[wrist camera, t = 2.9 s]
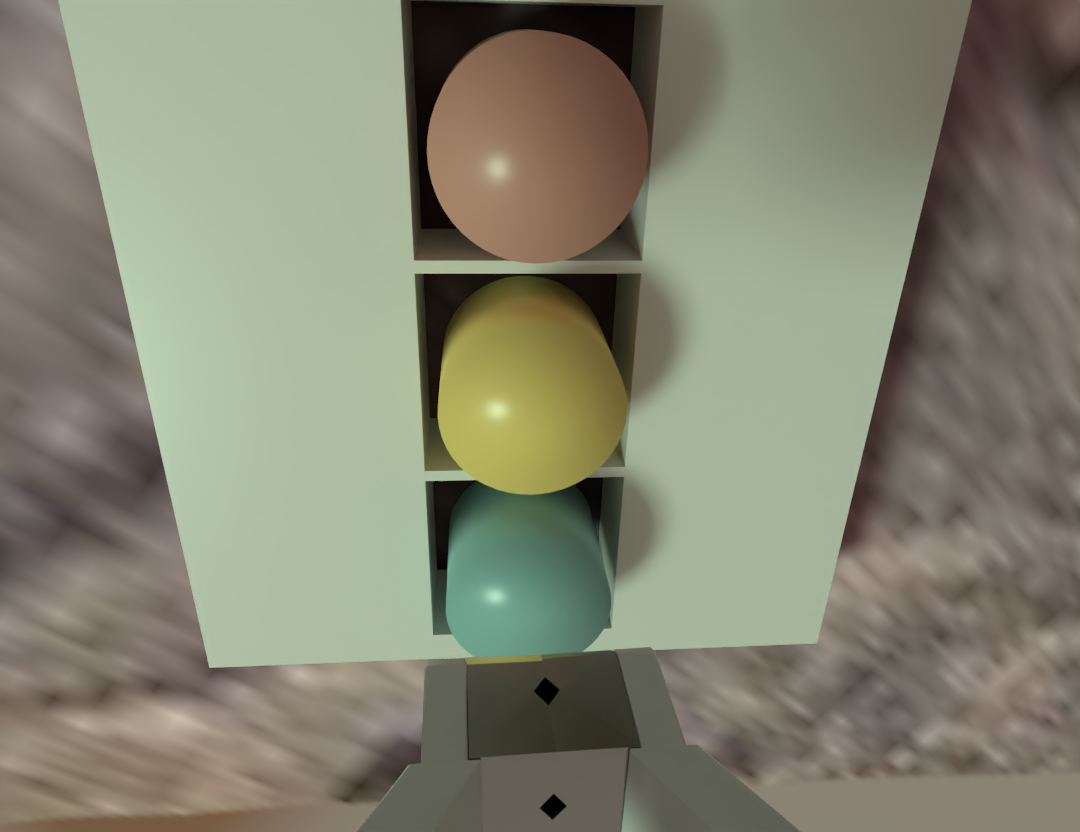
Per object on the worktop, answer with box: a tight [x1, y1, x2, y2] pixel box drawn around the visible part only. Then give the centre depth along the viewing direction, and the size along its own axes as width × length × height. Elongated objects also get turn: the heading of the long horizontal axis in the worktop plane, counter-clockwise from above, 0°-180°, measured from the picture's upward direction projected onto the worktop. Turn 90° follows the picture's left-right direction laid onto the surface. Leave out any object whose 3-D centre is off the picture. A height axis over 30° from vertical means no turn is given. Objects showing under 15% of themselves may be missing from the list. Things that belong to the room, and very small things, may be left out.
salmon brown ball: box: [427, 29, 648, 264], centre depth 16 cm, size 4×4×4 cm
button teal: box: [446, 481, 611, 657], centre depth 21 cm, size 4×4×4 cm
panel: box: [58, 0, 972, 668], centre depth 20 cm, size 18×18×3 cm
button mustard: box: [438, 276, 627, 495], centre depth 19 cm, size 4×4×4 cm
